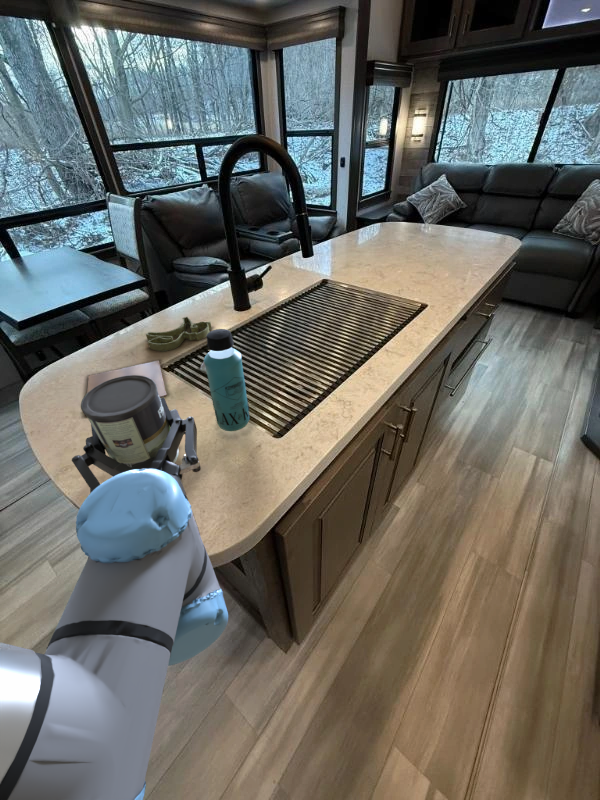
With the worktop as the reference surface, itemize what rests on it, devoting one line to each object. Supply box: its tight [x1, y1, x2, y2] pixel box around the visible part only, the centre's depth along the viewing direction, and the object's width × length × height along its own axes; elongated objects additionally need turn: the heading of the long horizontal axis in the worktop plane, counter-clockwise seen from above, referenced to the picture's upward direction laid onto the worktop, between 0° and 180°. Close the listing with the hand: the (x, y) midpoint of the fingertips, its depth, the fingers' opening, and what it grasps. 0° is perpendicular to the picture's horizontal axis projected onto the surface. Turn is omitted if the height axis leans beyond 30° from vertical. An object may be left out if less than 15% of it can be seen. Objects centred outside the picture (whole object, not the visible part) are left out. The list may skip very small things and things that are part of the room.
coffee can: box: [80, 375, 180, 467], centre depth 53 cm, size 10×10×14 cm
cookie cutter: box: [145, 316, 212, 352], centre depth 94 cm, size 18×12×2 cm, turn 142°
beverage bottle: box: [203, 328, 251, 432], centre depth 58 cm, size 6×7×20 cm
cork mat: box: [84, 359, 167, 417], centre depth 76 cm, size 16×16×1 cm
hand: (131, 414), depth 56 cm, fingers closed on coffee can, 10 cm apart
